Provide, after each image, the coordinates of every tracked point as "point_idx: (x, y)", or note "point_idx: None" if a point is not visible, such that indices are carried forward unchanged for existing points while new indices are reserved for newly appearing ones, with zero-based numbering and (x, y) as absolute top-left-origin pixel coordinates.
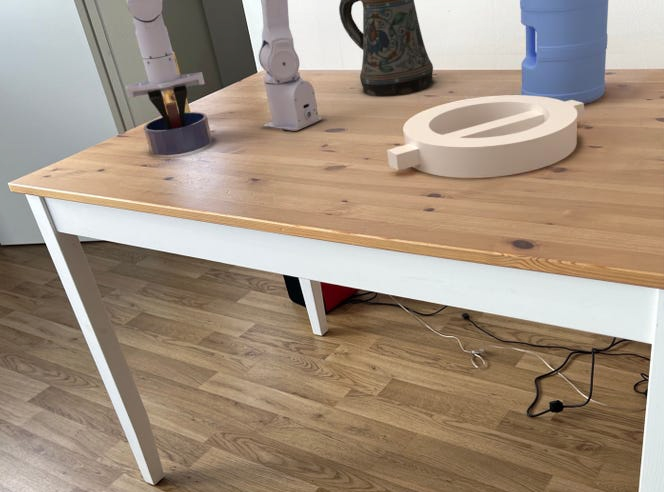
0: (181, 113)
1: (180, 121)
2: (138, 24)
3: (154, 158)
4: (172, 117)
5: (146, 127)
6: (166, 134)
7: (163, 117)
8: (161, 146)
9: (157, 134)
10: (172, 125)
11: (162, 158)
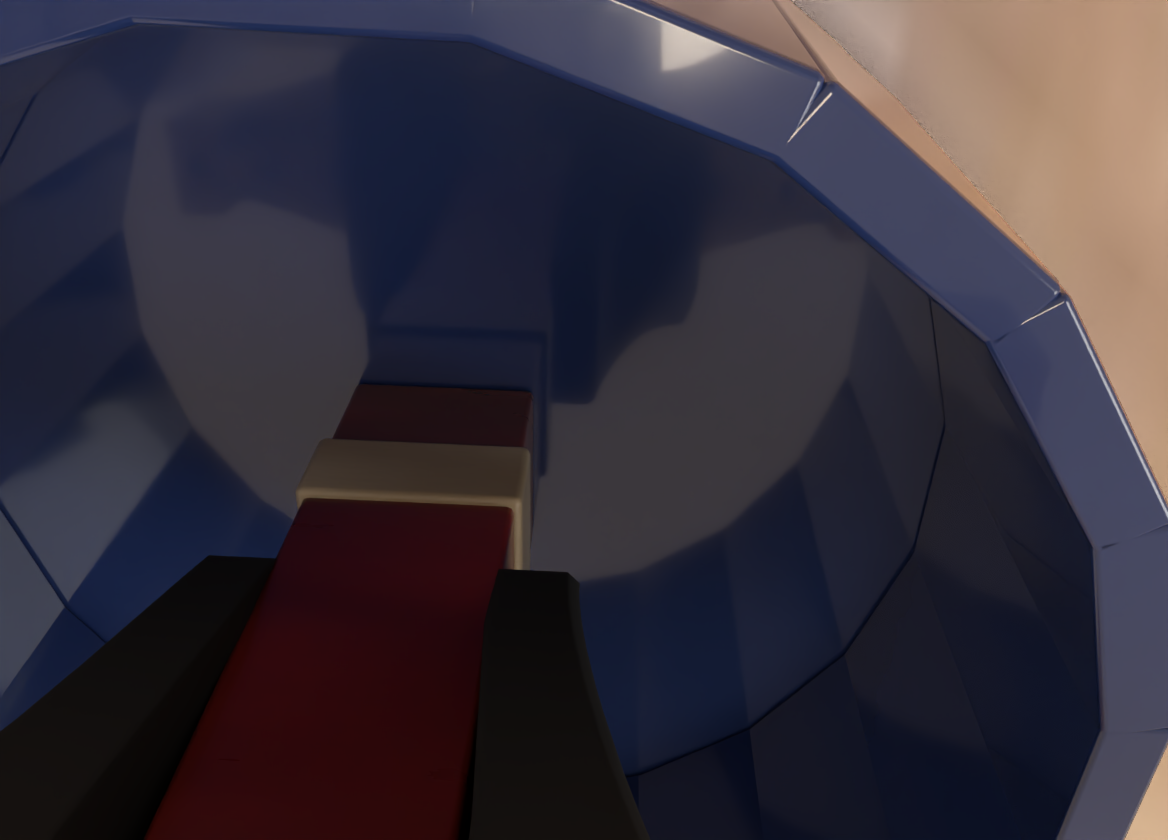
0: (30, 782)
1: (223, 671)
2: None
3: (985, 159)
4: (363, 786)
5: (1083, 776)
6: (686, 3)
7: (613, 802)
8: (858, 71)
9: (945, 169)
10: (455, 644)
11: (857, 38)
